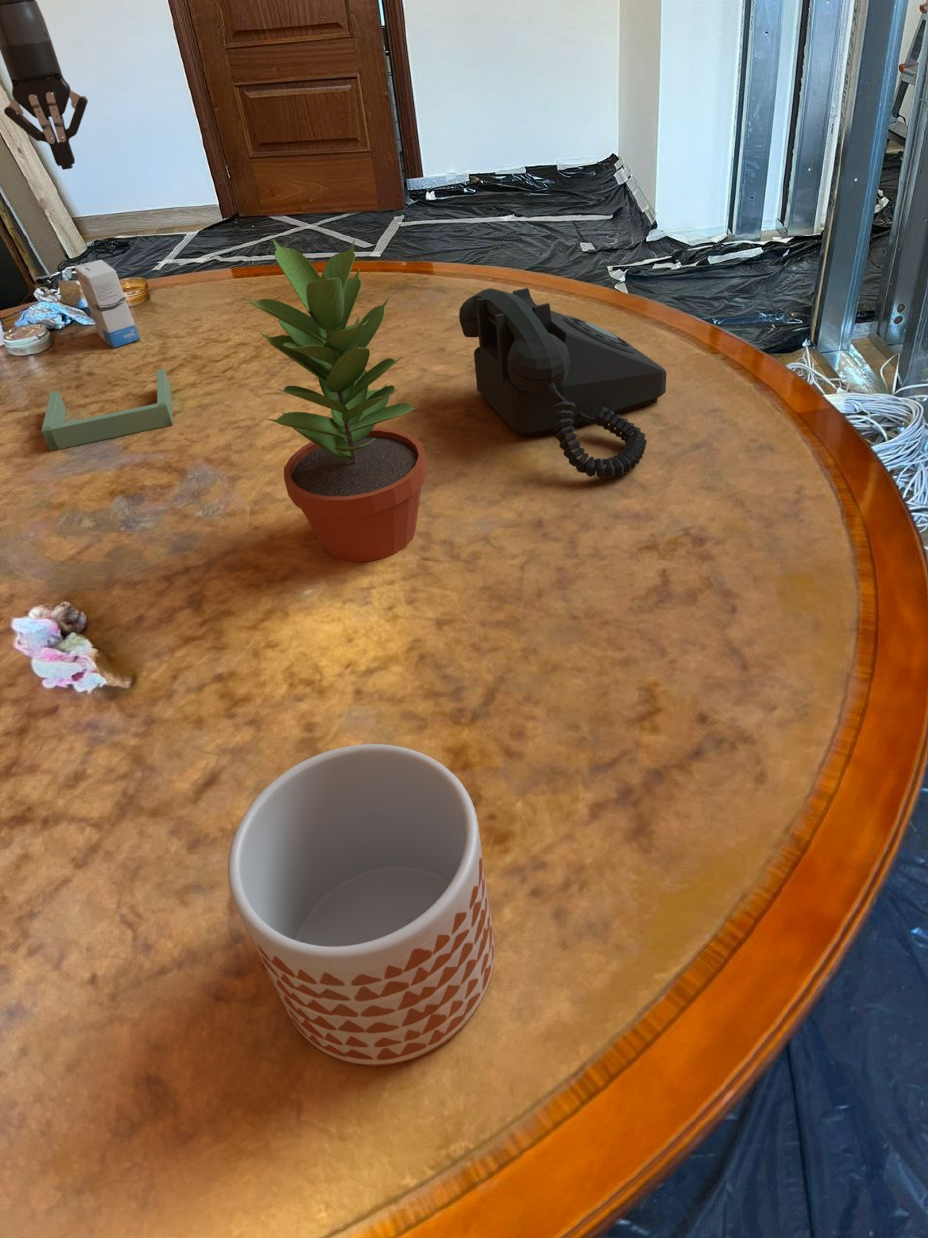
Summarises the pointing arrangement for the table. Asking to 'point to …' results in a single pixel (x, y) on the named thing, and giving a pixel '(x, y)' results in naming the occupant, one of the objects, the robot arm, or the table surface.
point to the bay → (106, 420)
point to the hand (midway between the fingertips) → (67, 168)
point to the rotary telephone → (559, 375)
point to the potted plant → (345, 418)
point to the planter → (367, 901)
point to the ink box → (107, 303)
